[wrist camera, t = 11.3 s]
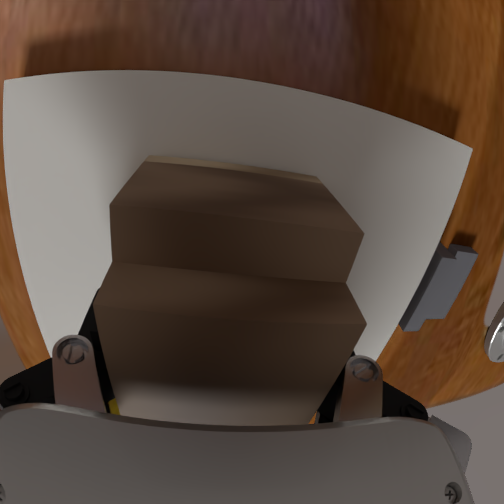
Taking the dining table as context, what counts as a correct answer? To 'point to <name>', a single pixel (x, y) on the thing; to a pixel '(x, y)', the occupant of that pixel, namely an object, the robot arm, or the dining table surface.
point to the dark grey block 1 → (428, 289)
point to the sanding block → (226, 294)
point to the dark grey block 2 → (453, 280)
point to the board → (220, 150)
